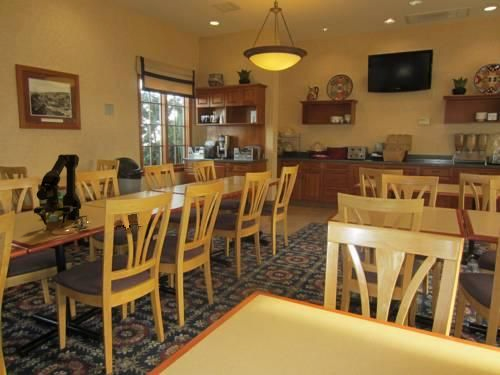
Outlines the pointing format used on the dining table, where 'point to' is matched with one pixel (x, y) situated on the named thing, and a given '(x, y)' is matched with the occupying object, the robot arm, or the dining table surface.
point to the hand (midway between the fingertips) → (54, 224)
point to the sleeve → (54, 224)
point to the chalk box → (59, 204)
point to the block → (53, 218)
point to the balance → (81, 222)
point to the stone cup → (131, 218)
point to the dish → (63, 231)
